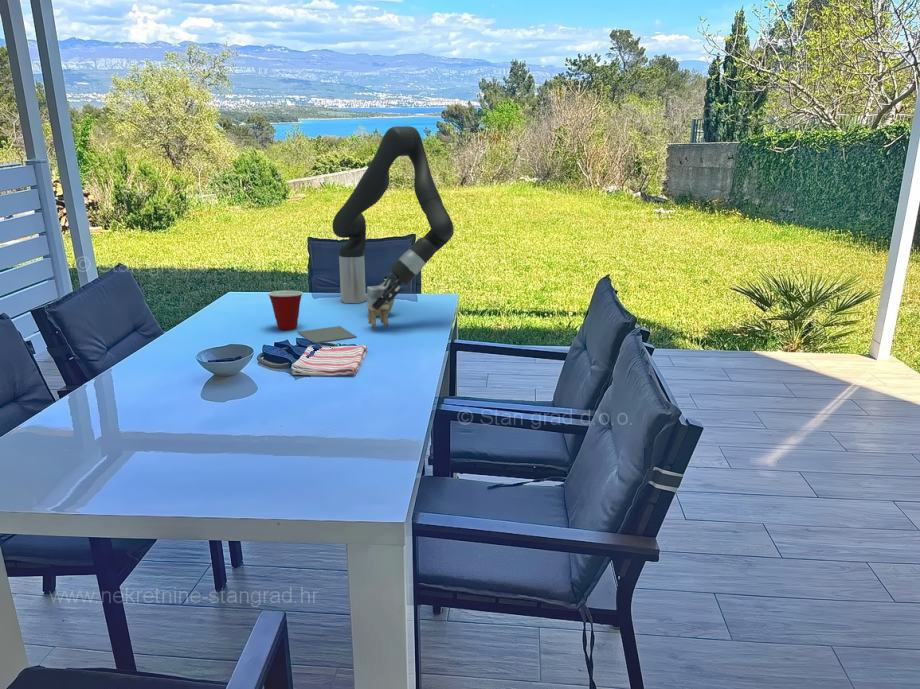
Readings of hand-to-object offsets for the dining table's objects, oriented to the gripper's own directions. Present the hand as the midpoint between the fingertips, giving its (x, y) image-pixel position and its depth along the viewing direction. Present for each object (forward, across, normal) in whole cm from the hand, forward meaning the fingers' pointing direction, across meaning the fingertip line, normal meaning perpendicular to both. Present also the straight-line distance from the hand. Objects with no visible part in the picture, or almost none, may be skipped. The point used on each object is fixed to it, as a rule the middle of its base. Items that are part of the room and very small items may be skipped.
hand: (372, 305), depth 213 cm
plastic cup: (+24, -10, -12) cm, 29 cm away
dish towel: (+19, +29, -8) cm, 36 cm away
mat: (+16, +2, -5) cm, 17 cm away
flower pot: (+1, -17, +11) cm, 20 cm away
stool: (+3, 0, +6) cm, 7 cm away
